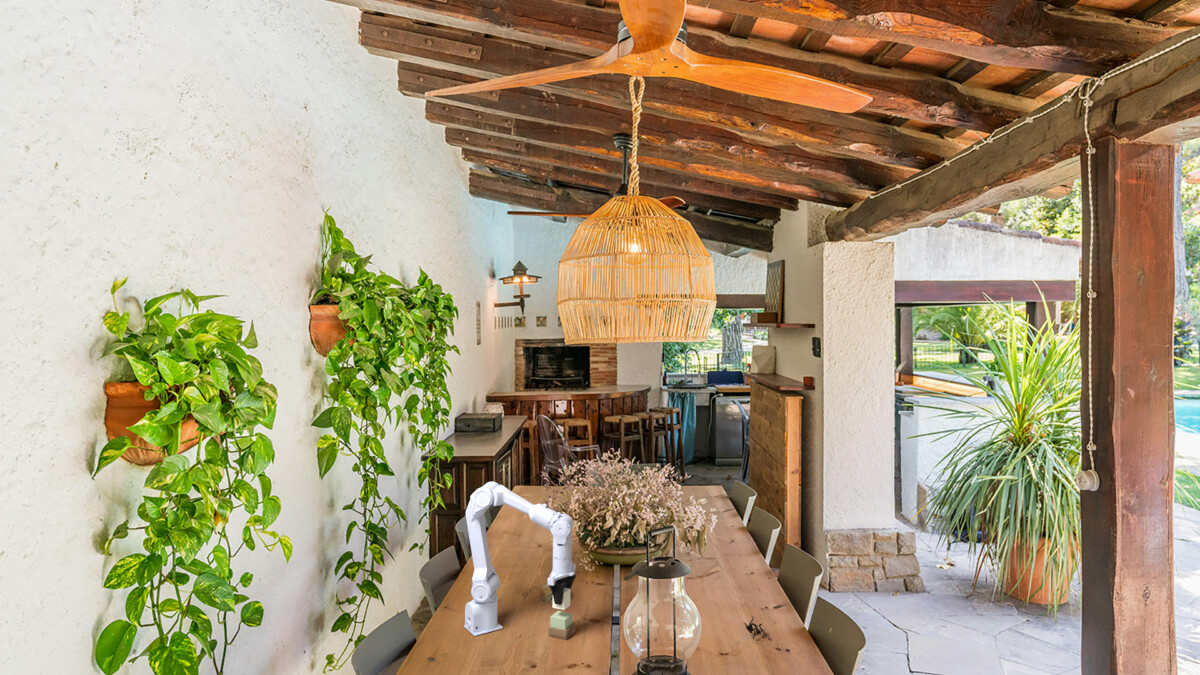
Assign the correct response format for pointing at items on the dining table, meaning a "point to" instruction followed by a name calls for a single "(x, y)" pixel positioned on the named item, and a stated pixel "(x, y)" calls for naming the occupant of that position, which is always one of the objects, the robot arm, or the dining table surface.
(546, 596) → the brown rounded lump
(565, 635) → the tower base
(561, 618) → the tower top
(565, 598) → the white block
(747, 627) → the creature
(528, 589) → the dining table surface
